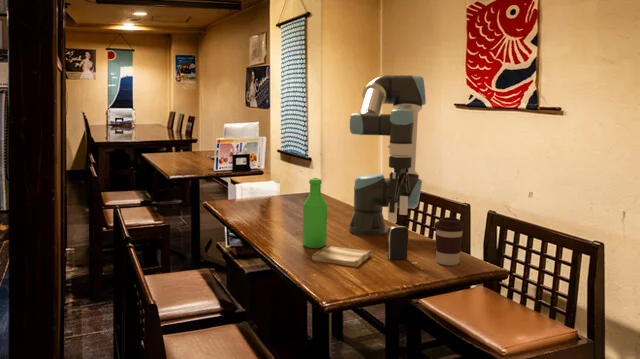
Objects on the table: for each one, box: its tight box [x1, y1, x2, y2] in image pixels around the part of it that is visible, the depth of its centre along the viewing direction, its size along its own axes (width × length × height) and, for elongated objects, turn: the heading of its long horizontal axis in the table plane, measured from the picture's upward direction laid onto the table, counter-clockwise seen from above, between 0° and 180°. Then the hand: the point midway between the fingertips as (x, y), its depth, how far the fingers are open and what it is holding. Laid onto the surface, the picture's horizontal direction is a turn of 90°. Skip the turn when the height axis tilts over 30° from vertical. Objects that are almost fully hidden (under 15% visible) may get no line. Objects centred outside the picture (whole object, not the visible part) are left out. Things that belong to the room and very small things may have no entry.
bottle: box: [302, 177, 328, 249], centre depth 210 cm, size 9×9×25 cm
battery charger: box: [386, 225, 409, 261], centre depth 197 cm, size 7×4×11 cm, turn 110°
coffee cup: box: [433, 216, 466, 267], centre depth 193 cm, size 10×10×15 cm
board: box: [311, 244, 372, 268], centre depth 197 cm, size 14×16×2 cm
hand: (397, 218), depth 196 cm, fingers open, 13 cm apart
